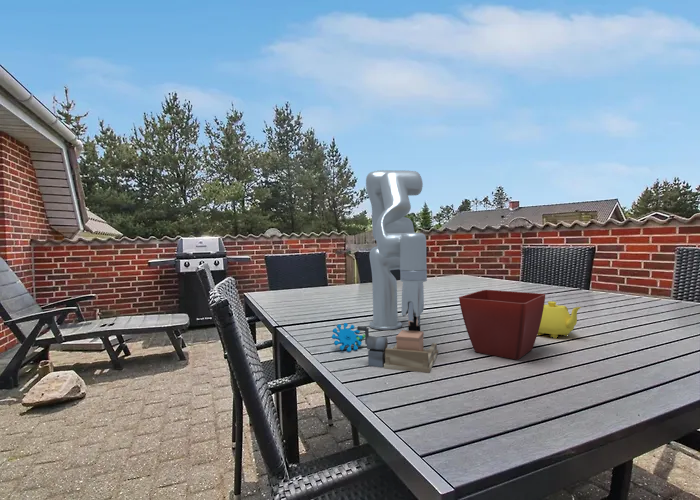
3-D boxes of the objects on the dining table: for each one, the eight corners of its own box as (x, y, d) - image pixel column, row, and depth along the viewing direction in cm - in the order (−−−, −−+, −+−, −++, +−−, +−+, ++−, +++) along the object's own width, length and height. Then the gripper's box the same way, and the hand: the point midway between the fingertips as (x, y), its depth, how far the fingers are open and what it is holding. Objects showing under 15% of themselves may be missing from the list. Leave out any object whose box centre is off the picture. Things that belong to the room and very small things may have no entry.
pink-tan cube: (402, 354, 108) (401, 329, 108) (424, 355, 106) (423, 331, 106) (396, 361, 102) (395, 336, 101) (419, 364, 99) (419, 337, 99)
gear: (334, 349, 113) (331, 320, 120) (329, 358, 117) (326, 330, 124) (368, 350, 116) (364, 322, 123) (362, 359, 120) (358, 332, 127)
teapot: (596, 338, 125) (596, 303, 124) (568, 344, 118) (568, 308, 118) (541, 325, 142) (541, 295, 142) (514, 331, 136) (514, 299, 135)
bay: (373, 347, 119) (373, 315, 119) (438, 353, 112) (437, 319, 112) (355, 365, 103) (354, 328, 103) (429, 372, 96) (428, 333, 96)
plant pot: (458, 352, 112) (457, 296, 112) (485, 339, 126) (484, 289, 126) (525, 366, 99) (524, 303, 99) (547, 349, 113) (546, 294, 113)
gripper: (406, 273, 117) (407, 332, 117) (394, 278, 103) (395, 345, 103) (430, 273, 114) (431, 333, 115) (422, 278, 100) (423, 347, 101)
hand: (414, 338), depth 109 cm, fingers closed
